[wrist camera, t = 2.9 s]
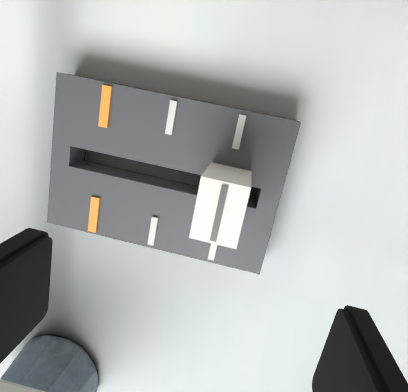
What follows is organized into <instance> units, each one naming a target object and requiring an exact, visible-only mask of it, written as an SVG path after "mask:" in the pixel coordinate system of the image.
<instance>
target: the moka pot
mask: <svg viewBox="0 0 408 392" xmlns="http://www.w3.org/2000/svg"><path fill="white" fill-rule="evenodd" d="M1 380H5V381H9V382H12V383H16V384H20V385H23V386H27V387H31V388H34V389H38V390H42V391H45V392H96V391H97V386H98V375H97V371H96V368H95V365H94V363H93V361H92V360H91V359H90V358H89V356H88V354H87V353H86V352H85V351H84V350H83V348H82V347H81V346H78V345H77V344H76V343H74V342H71V341H70V340H67V339H65V338H60V337H55V336H52V335H48V336H39V337H34V338H32V339H31V340H30V341H29V342H28V343H27V344H26V346H25V347H24V348H23V350H22V351H21V352H20V353H19V354H18V356H17V357H16V358H15V360H14V361H13V362H12V364H11V365H10V367H9V368H8V369H7V371H6V372H5V373H4V374H3V376H2V377H1Z"/></svg>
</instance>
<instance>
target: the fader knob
mask: <svg viewBox="0 0 408 392" xmlns="http://www.w3.org/2000/svg"><path fill="white" fill-rule="evenodd" d="M251 177H252V171H249V170H245V169H240V168H236V167H231V166H226V165H222V164H217V163H213V162H211V163H210V165H209V166H208V167H207V169H206V170H205V171H204V173H203V174H202V176H201V179H200V184H199V189H198V194H197V199H196V204H195V209H194V214H193V220H192V225H191V230H190V235H189V238H192V239H196V240H200V241H204V242H208V243H212V244H217V245H221V246H225V247H229V248H233V249H236V248H237V244H238V240H239V236H240V231H241V227H242V223H243V219H244V215H245V211H246V207H247V203H248V199H249V194H250V190H251Z"/></svg>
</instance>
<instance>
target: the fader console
mask: <svg viewBox="0 0 408 392" xmlns="http://www.w3.org/2000/svg"><path fill="white" fill-rule="evenodd" d="M300 123H301V122H299V121H296V120H291V119H286V118H281V117H276V116H271V115H267V114H262V113H257V112H252V111H247V110H242V109H237V108H232V107H228V106H223V105H218V104H213V103H208V102H203V101H198V100H193V99H188V98H184V97H179V96H174V95H169V94H164V93H159V92H154V91H149V90H145V89H140V88H135V87H130V86H125V85H120V84H115V83H110V82H105V81H101V80H96V79H91V78H86V77H81V76H76V75H70V74H64V73H58V72H57V75H56V91H55V107H54V123H53V139H52V155H51V171H50V187H49V203H48V219H47V222H48V223H52V224H56V225H61V226H65V227H69V228H73V229H77V230H81V231H85V232H89V233H93V234H97V235H101V236H106V237H110V238H114V239H118V240H122V241H126V242H130V243H134V244H138V245H142V246H146V247H150V248H155V249H159V250H163V251H167V252H171V253H175V254H179V255H183V256H187V257H191V258H195V259H200V260H204V261H208V262H212V263H216V264H220V265H224V266H228V267H232V268H236V269H240V270H244V271H249V272H253V273H257V274H260V270H261V267H262V263H263V259H264V256H265V252H266V248H267V245H268V241H269V237H270V234H271V230H272V226H273V223H274V219H275V215H276V211H277V208H278V204H279V200H280V197H281V193H282V189H283V186H284V182H285V178H286V175H287V171H288V167H289V164H290V160H291V156H292V153H293V149H294V145H295V142H296V138H297V134H298V131H299V127H300ZM85 150H90V151H94V152H99V153H103V154H108V155H112V156H117V157H121V158H126V159H130V160H135V161H139V162H144V163H148V164H153V165H157V166H161V167H166V168H170V169H175V170H179V171H184V172H188V173H193V174H197V175H202V174H203V173H204V171H205V170H206V169H207V167H208V166H209V165H210V163H211V162H213V163H217V164H222V165H226V166H231V167H236V168H240V169H245V170H249V171H252V177H251V187H255V188H259V190H258V194H257V198H256V200H254V199H250V198H249V199H248V203H247V207H246V211H245V215H244V219H243V223H242V227H241V231H240V236H239V240H238V244H237V248H236V249H233V248H229V247H225V246H221V245H217V244H212V243H208V242H204V241H200V240H196V239H192V238H189V235H190V230H191V225H192V220H193V214H194V209H195V204H196V199H197V194H198V189H199V187H197V186H193V185H188V184H184V183H179V182H175V181H171V180H166V179H162V178H157V177H153V176H148V175H144V174H140V173H135V172H131V171H126V170H122V169H118V168H113V167H109V166H104V165H100V164H96V163H91V162H87V161H84V156H85Z"/></svg>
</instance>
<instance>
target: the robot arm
mask: <svg viewBox="0 0 408 392" xmlns="http://www.w3.org/2000/svg"><path fill="white" fill-rule="evenodd" d="M51 256H52V239H51V238H50V237H49V236H48V233H47V232H44V231H40V230H36V229H32V228H28V229H25V230H24V231H22V232H20V233H18V234H17V235H15V236H13V237H11V238H10V239H8V240H6V241H4V242H3V243H1V244H0V363H1V362H2V361H3V360H4V359H5V358H6V357H7V356H8V355H9V354H10V353H11V352H12V351H13V349H14V348H15V347H16V346H17V345H18V344H19V343H20V342H21V341H22V340H23V339H24V338H25V337H26V336H27V335H28V334H29V333H30V332H31V331H32V330H33V329H34V328H35V326H36V325H37V324H38V323H39V322H40V321H41V320H42V319H43V318H44V316H45V315H46V313H47V310H48V301H49V286H50V271H51ZM312 390H313V392H408V383H407V381H406V380H405V378H404V376H403V374H402V372H401V371H400V369H399V367H398V365H397V363H396V362H395V360H394V358H393V356H392V354H391V352H390V351H389V349H388V347H387V345H386V343H385V342H384V340H383V338H382V336H381V334H380V333H379V331H378V329H377V327H376V325H375V323H374V322H373V320H372V318H371V316H370V314H369V313H368V311H367V310H364V309H360V308H356V307H352V306H348V305H347V306H345V308H344V309H338V311H337V313H336V316H335V318H334V321H333V324H332V327H331V329H330V332H329V335H328V338H327V340H326V343H325V346H324V349H323V351H322V354H321V357H320V360H319V362H318V365H317V368H316V371H315V373H314V376H313V381H312ZM0 392H45V391H42V390H38V389H34V388H31V387H27V386H23V385H20V384H16V383H12V382H9V381H5V380H1V379H0Z"/></svg>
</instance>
